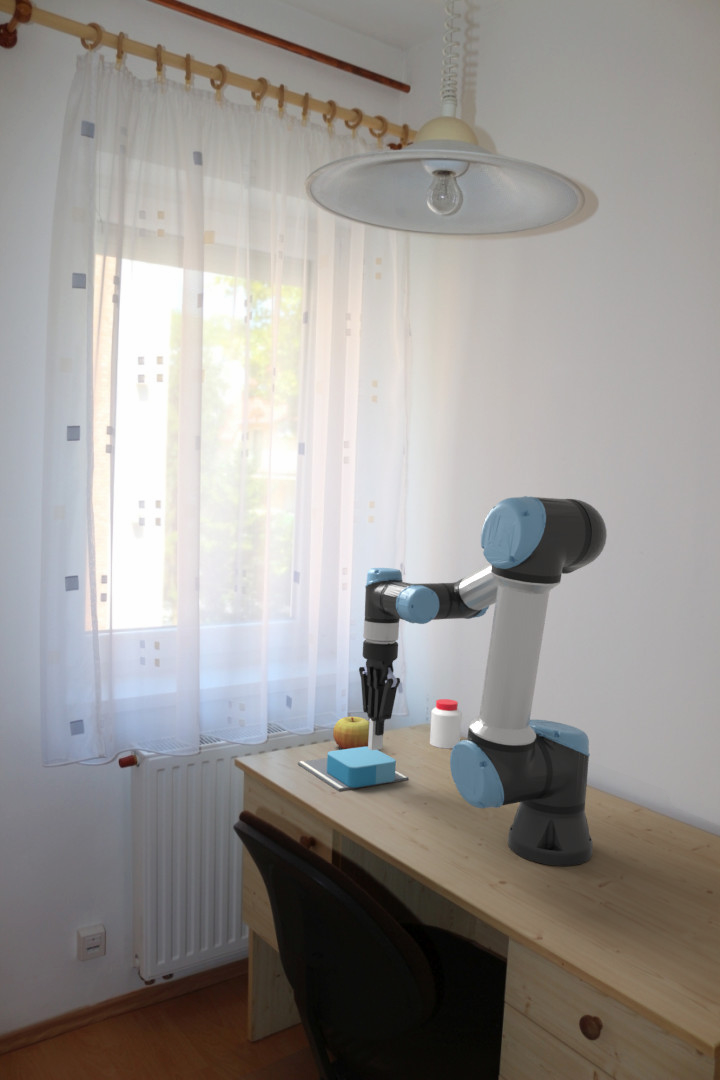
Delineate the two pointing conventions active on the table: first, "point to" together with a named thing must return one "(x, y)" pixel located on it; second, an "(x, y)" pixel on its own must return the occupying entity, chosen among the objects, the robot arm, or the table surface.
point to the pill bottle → (445, 724)
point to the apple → (351, 732)
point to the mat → (320, 771)
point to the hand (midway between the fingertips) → (375, 748)
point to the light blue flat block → (361, 766)
